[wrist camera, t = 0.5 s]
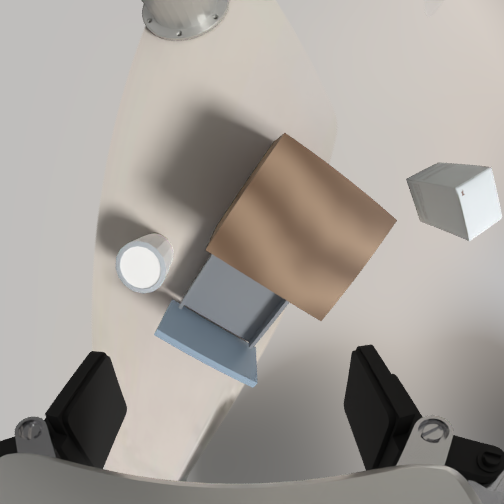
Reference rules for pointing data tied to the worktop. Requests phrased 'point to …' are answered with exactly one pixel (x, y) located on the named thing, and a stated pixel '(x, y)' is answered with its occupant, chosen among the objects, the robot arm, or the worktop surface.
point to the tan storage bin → (300, 228)
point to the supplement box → (456, 198)
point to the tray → (222, 320)
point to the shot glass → (145, 262)
